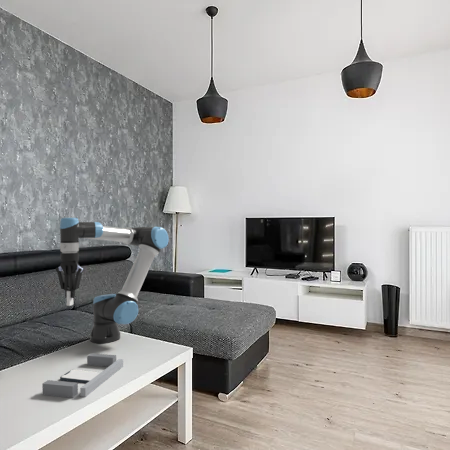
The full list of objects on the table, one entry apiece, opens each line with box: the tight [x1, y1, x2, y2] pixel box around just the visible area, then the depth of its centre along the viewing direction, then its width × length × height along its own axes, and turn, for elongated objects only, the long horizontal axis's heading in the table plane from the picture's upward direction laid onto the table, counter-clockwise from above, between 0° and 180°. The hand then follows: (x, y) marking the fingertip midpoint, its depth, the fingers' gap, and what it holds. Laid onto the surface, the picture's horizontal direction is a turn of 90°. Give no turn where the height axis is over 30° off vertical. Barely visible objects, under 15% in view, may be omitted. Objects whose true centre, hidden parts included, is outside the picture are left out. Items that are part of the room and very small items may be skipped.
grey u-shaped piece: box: [42, 353, 124, 399], centre depth 146 cm, size 31×16×4 cm, turn 168°
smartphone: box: [59, 368, 102, 384], centre depth 147 cm, size 9×2×16 cm
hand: (70, 305), depth 166 cm, fingers closed
